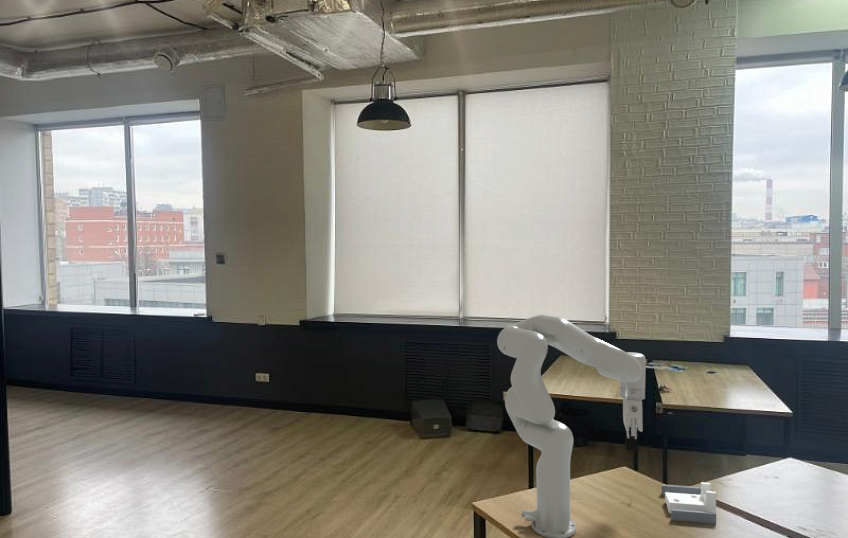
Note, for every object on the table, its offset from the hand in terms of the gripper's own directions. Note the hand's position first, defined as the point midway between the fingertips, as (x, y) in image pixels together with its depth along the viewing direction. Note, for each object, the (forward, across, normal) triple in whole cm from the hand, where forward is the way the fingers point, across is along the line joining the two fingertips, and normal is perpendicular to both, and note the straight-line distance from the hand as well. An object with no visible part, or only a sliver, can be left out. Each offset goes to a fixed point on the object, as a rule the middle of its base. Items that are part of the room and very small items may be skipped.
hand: (631, 449), depth 180 cm
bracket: (+17, -1, -17) cm, 24 cm away
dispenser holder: (+16, -1, -18) cm, 24 cm away
